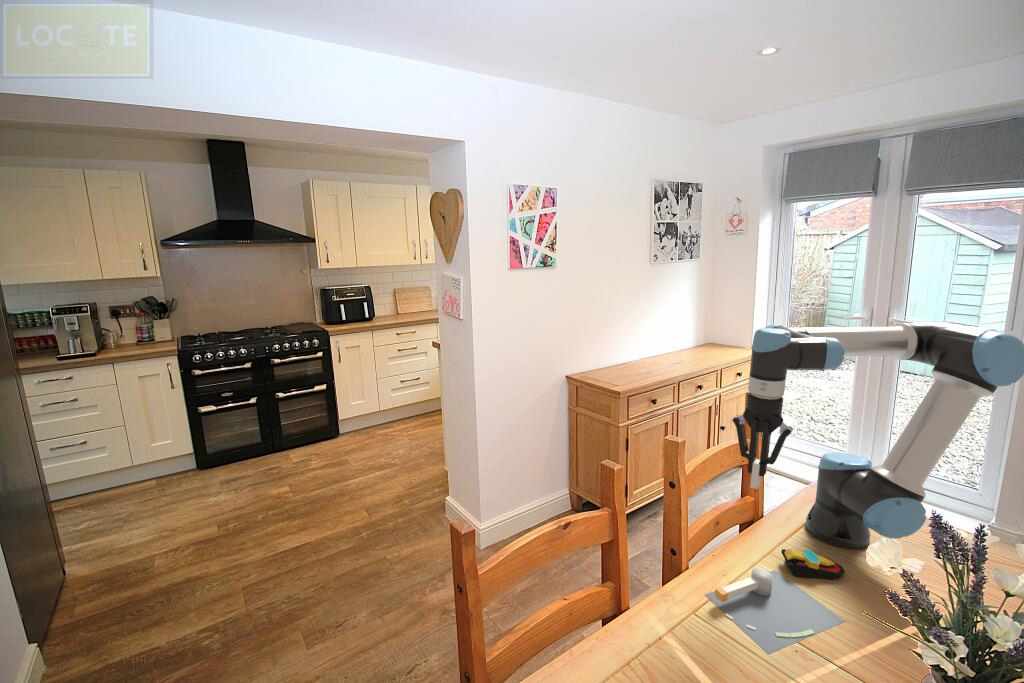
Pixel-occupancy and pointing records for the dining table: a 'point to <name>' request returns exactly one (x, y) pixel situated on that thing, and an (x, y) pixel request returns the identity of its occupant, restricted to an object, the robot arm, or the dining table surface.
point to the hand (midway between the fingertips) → (755, 486)
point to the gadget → (811, 565)
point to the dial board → (777, 614)
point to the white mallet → (747, 586)
